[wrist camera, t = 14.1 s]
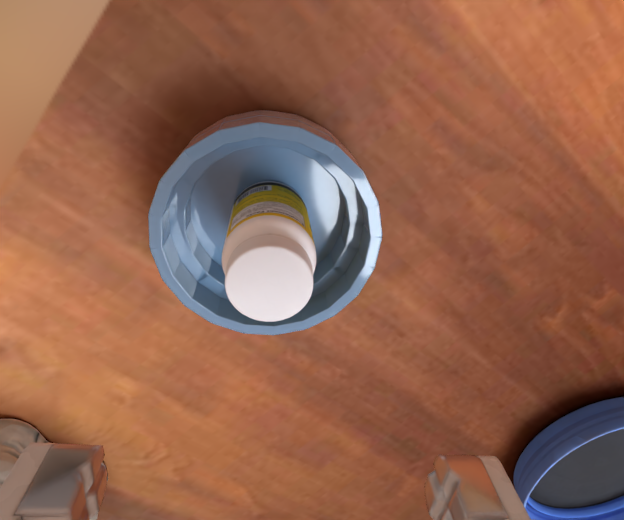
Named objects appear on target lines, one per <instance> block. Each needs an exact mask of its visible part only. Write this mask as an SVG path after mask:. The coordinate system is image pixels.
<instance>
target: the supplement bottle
mask: <svg viewBox="0 0 624 520" xmlns="http://www.w3.org/2000/svg"><path fill="white" fill-rule="evenodd" d="M222 267H223V271H224V274H225V290H226V294H227V296H228V298H229V300H230V302H231V303H232V305H233V306H234V307H235V308H236V309H237V310H238V311H239V312H240V313H242V314H243V315H245V316H247V317H249V318H252V319H254V320H258V321H265V322H275V321H280V320H284V319H287V318H289V317H291V316H293V315H295V314H296V313H298V312H299V311H300V310H301V309H303V307H304V306H305V305H306V304H307V302H308V301H309V299H310V297H311V294H312V291H313V274H314V271H315V267H316V249H315V244H314V240H313V236H312V230H311V226H310V221H309V217H308V212H307V208H306V205H305V203H304V201H303V199H302V198H301V196H300V195H299V194H298V193H297V192H296V191H295V190H294V189H292V188H291V187H289V186H287V185H285V184H283V183H279V182H274V181H263V182H258V183H255V184H253V185H251V186H249V187H247V188H246V189H244V190H243V191H242V192H241V193H240V194H239V195H238V197H237V198H236V200H235V202H234V204H233V207H232V210H231V215H230V220H229V225H228V230H227V234H226V238H225V243H224V247H223V251H222Z"/></svg>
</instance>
